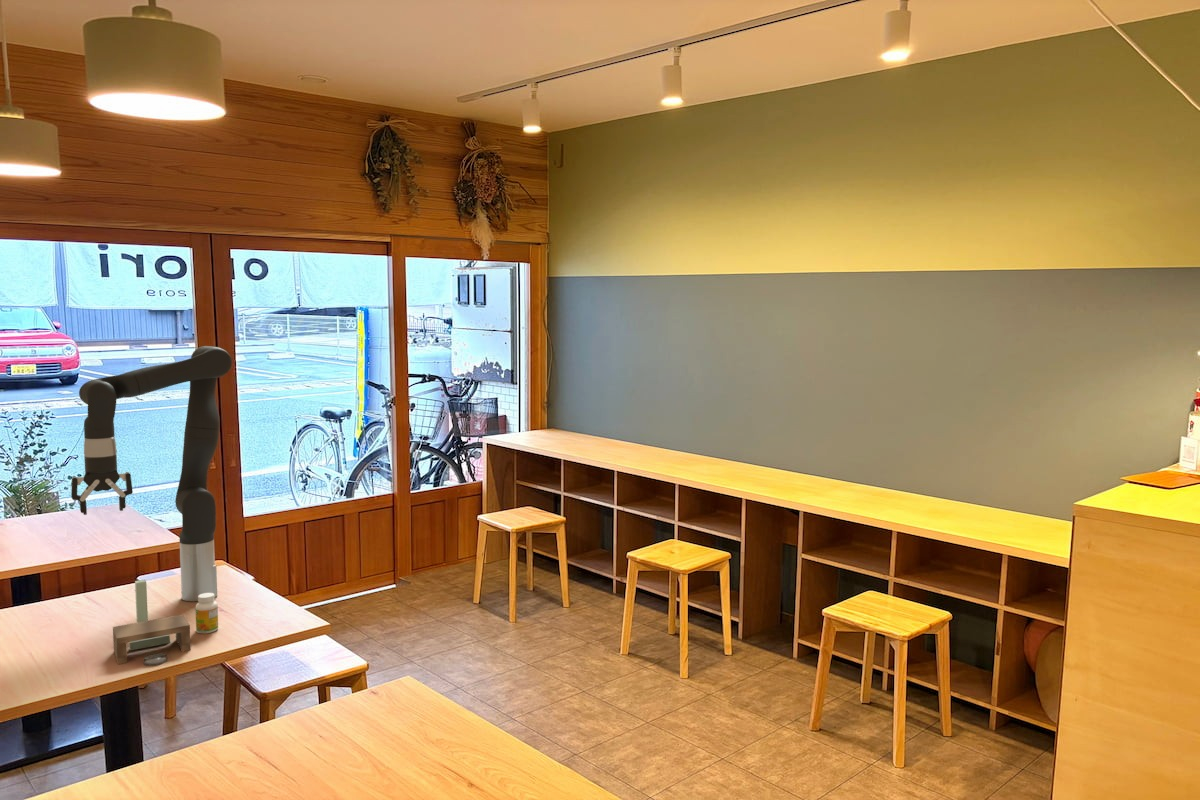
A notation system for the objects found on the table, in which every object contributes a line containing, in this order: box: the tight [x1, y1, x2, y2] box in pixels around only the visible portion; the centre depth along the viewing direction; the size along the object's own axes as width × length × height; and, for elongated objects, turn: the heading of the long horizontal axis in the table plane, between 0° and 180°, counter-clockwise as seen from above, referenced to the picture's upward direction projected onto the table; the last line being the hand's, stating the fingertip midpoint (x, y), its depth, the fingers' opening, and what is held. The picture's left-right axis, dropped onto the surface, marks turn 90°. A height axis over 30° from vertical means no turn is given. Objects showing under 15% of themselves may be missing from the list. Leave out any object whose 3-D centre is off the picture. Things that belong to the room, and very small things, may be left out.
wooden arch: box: [112, 614, 192, 665], centre depth 208 cm, size 16×9×6 cm, turn 125°
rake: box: [128, 579, 171, 651], centre depth 217 cm, size 9×16×13 cm, turn 35°
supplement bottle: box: [195, 593, 219, 634], centre depth 222 cm, size 5×5×10 cm
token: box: [143, 653, 168, 667], centre depth 202 cm, size 5×5×1 cm
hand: (103, 512), depth 227 cm, fingers open, 8 cm apart
